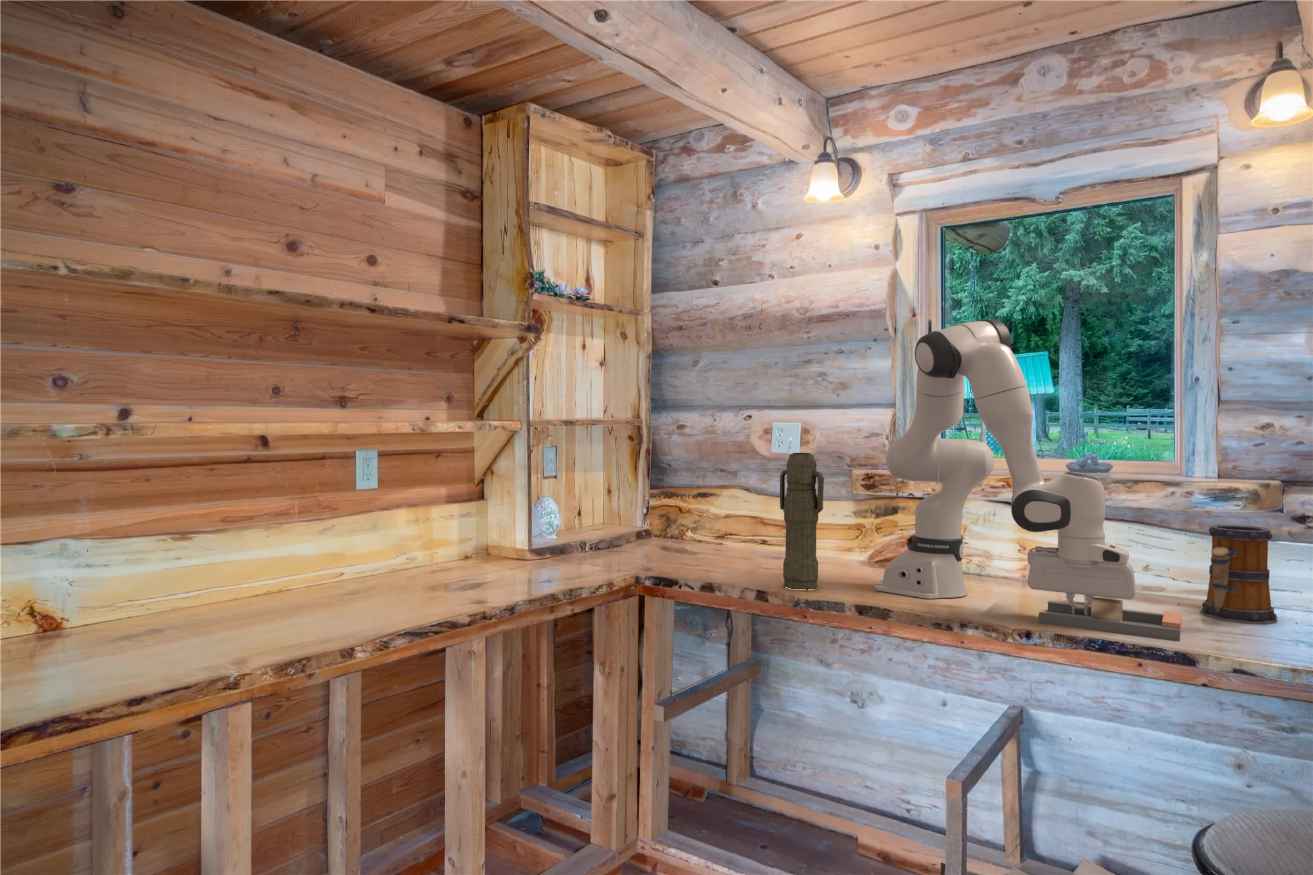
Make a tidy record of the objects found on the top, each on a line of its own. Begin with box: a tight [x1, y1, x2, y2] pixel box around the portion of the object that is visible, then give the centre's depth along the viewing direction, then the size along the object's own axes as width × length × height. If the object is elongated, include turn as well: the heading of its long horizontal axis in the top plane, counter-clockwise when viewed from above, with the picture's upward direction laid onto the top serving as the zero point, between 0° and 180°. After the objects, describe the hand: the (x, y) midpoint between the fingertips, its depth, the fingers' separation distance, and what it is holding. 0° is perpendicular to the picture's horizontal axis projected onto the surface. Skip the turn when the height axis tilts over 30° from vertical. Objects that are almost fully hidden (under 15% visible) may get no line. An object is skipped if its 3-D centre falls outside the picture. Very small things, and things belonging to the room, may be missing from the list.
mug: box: [1199, 524, 1278, 626], centre depth 185 cm, size 19×14×20 cm
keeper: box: [1091, 596, 1124, 622], centre depth 173 cm, size 5×9×5 cm, turn 147°
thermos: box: [779, 452, 825, 590], centre depth 216 cm, size 9×12×35 cm
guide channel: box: [1038, 600, 1182, 642], centre depth 173 cm, size 25×14×4 cm, turn 57°
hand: (1079, 615), depth 176 cm, fingers closed
